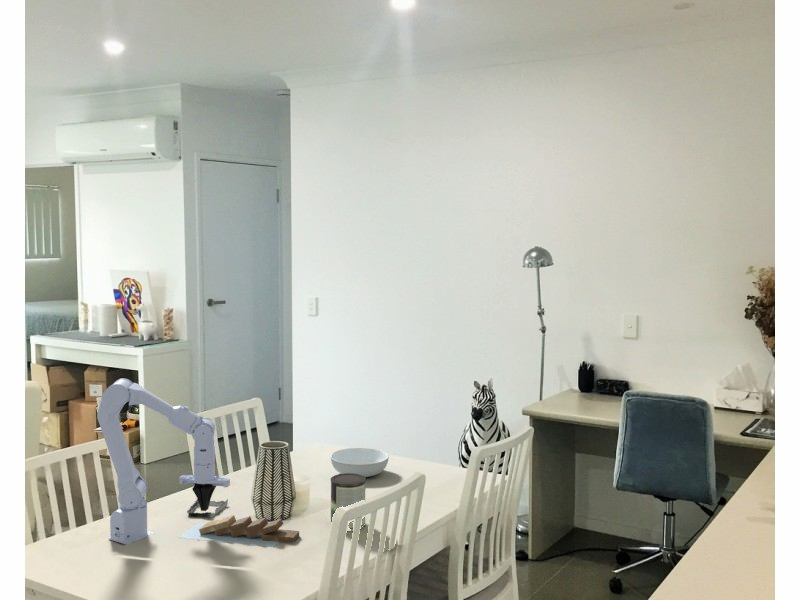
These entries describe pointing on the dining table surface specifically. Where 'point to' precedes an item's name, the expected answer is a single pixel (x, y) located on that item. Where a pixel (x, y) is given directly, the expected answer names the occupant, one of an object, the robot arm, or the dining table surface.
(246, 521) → the domino
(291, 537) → the domino
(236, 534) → the domino
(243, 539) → the board
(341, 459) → the serving bowl
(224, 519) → the oak domino
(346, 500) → the coffee can
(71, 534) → the dining table surface
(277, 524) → the domino
